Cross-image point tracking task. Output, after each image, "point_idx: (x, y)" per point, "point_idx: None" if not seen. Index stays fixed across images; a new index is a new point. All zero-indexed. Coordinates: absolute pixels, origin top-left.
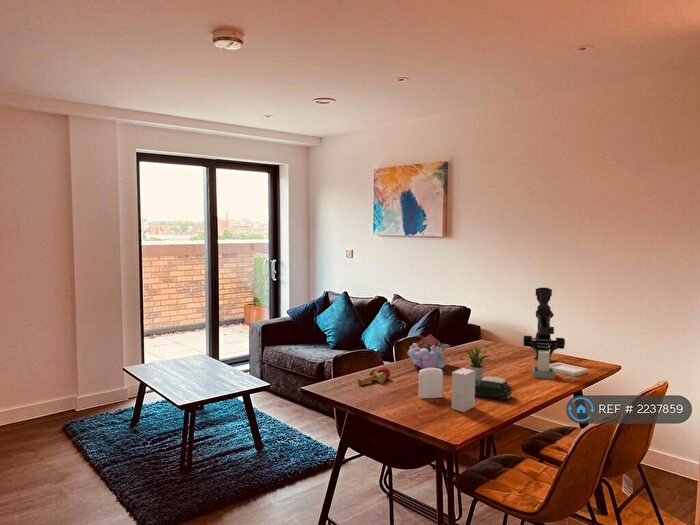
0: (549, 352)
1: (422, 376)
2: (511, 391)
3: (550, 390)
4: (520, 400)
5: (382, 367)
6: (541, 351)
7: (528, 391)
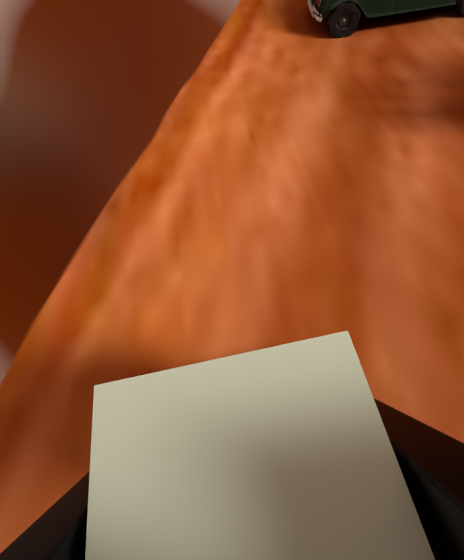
0: (93, 456)
1: None
2: (320, 14)
3: (181, 168)
4: (274, 29)
5: None
6: (306, 474)
7: (276, 108)
